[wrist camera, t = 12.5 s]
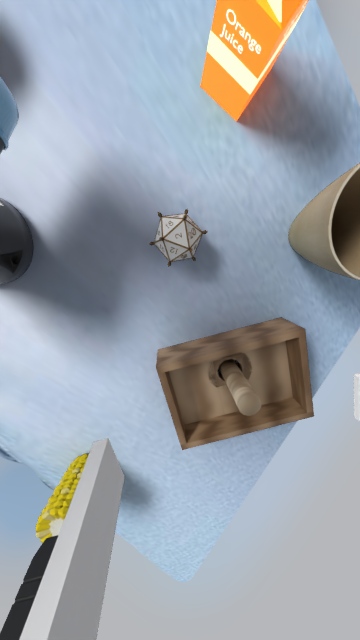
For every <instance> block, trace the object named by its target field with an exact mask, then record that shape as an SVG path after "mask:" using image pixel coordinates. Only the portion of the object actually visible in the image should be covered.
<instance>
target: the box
mask: <svg viewBox="0 0 360 640" xmlns="http://www.w3.org/2000/svg"><path fill="white" fill-rule="evenodd" d="M229 359H233V360H237V362H238V365H237V366H238V368H239V369H240V371H241V372H242V374H243V375H244V377H245V378H246V379H247V381H248V382H249V384H250V385H251V387H252V388H253V390H254V391H255V393H256V394H257V396H258V397H259V399H260V400H261V408H260V410H259V411H258V412H257V413H256V414H254V415H251V416H246V415H243V414H242V413H241V412H240V411H239V409H238V407H237V405H236V403H235V400H234V398H233V396H232V394H231V392H230V390H229V388H228V386H227V384H226V382H225V380H224V378H223V376H222V374H220V373H219V372H218V368H219V365H220V364H221V363H222V362H223V361H225V360H229ZM156 369H157V372H158V375H159V378H160V382H161V385H162V388H163V391H164V394H165V397H166V400H167V404H168V407H169V410H170V413H171V416H172V419H173V423H174V426H175V429H176V432H177V435H178V438H179V441H180V445H181V448H182V450H184V449H188V448H192V447H196V446H200V445H204V444H207V443H211V442H215V441H219V440H223V439H227V438H231V437H235V436H239V435H243V434H247V433H251V432H254V431H258V430H262V429H266V428H270V427H274V426H278V425H282V424H286V423H290V422H294V421H297V420H301V419H305V418H309V417H313V416H314V413H313V403H312V393H311V383H310V373H309V363H308V353H307V343H306V333H305V329H304V328H302V327H300V326H298V325H296V324H294V323H292V322H290V321H288V320H286V319H284V318H282V317H281V318H277V319H273V320H269V321H265V322H262V323H258V324H254V325H250V326H246V327H242V328H239V329H235V330H231V331H227V332H223V333H219V334H216V335H212V336H208V337H204V338H200V339H197V340H193V341H189V342H185V343H181V344H177V345H174V346H170V347H166V348H162V349H158V354H157V364H156Z"/></svg>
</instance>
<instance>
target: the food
mask: <svg viewBox="0 0 360 640" xmlns="http://www.w3.org/2000/svg"><path fill="white" fill-rule="evenodd" d="M88 456H89V454H86V453H85V454H84V455H82V456H78V457H77V458H76V459H75V460H74V461H73V462H72V463H71V465H70V467H69V468H68V469H67V470H68V471H66V472H65V474H64V476H63V477H62V479H61V480H60V484H59V485H58V486H57V487H56V488H55V491H54V493H53V495H52V496H51V497H50V498H49V502H48V503H47V505H46V507H45V508H44V510H43V511H42V513H41V515H40V517H39V518H38V523H37V524H36V532H37V533H36V536H37V537H38V538H40V539H41V542H42V543H43V542H44V541H45V539H46V538H49V537H53V536H56V535H59V533H60V530H61V527H62V525H63V522H64V519H65V517H66V514H67V512H68V509H69V506H70V504H71V501H72V498H73V496H74V493H75V490H76V488H77V485H78V482H79V480H80V477H81V474H82V472H83V469H84V466H85V464H86V461H87V458H88Z"/></svg>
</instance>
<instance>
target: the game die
mask: <svg viewBox="0 0 360 640" xmlns="http://www.w3.org/2000/svg"><path fill="white" fill-rule="evenodd" d="M187 213H188V209H186V210H185V214H176V215H168V216H162V214H161V213H159V212H158V215H159V217H161V219H160V222H159V226H158V230H157V233H156V237H155V241H154V242H151V243H150V245H154V244H155V245H156V246H157V247H158V249H159V250H160V251H161V252H162V253H163V254H164V256H165V257H166V258H167V259H168V260H169V263H168V267H169V266H170V265H171V262H173V261H178V260H183V259H188V258H192V259H193V261H196V258H195V257H194V254H195V252H196V249H197V246H198V244H199V241H200V239H201V236H202V234H206V233H207V232H208V231H206V230H205V231H203V232H202V231H201V230H200V229H199V228H198V226H197V225H196V224H195V223H194V222H193V221H192V220H191V219H190V217H189V216H188V215H187Z"/></svg>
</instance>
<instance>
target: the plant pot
mask: <svg viewBox="0 0 360 640" xmlns="http://www.w3.org/2000/svg"><path fill="white" fill-rule="evenodd" d="M288 236H289V243H290V245H291V247H292V248H293V249H294V250H295V251H296V252H297V253H298V254H299V255H301V256H302V257H304V258H305V259H307V260H308V261H310V262H312V263H314V264H316V265H318V266H320V267H322V268H324V269H326V270H329V271H332V272H334V273H337V274H340V275H344V276H347V277H350V278H354V279H357V280H360V163H359V164H357V165H356V166H354V167H353V168H352V169H350V170H349V171H347V172H346V173H344V174H343V175H342V176H340V177H339V178H338V179H336V180H335V181H334V182H333V183H331V184H330V185H329V186H327V187H326V188H325V189H324V190H323V191H321V192H320V193H319V194H318V195H317V196H316V197H315V198H314V199H313V200H312V201H311V202H310V203H309V204H308V205H307V206H306V207H305V208H304V209H303V210H302V211H301V212H300V213H299V215H298V216H297V217H296V219H295V220H294V221H293V223H292V225H291V227H290V229H289V235H288Z"/></svg>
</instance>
